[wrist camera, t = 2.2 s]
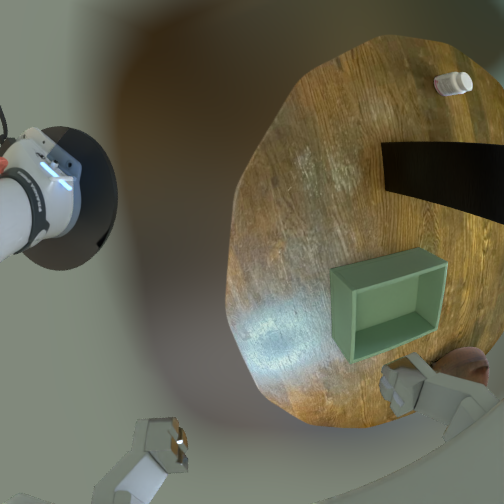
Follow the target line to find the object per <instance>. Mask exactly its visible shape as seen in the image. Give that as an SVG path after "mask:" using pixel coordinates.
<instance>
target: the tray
mask: <svg viewBox="0 0 504 504" xmlns="http://www.w3.org/2000/svg"><path fill="white" fill-rule="evenodd" d="M447 266H448V262H447V261H445V260H443V259H441V258H439V257H437V256H436V255H434V254H432V253H430V252H428V251H426V250H424V249H422V248H420V247H418V248H414V249H410V250H406V251H402V252H398V253H394V254H391V255H387V256H383V257H378V258H374V259H370V260H366V261H362V262H358V263H354V264H350V265H345V266H341V267H337V268H332V269H330V287H331V316H332V338H333V339H334V341H335V342H336V344H337V345H338V347H339V348H340V350H341V351H342V353H343V355H344V356H345V358H346V359H347V361H348V362H349V364H352V363H355V362H358V361H361V360H364V359H367V358H370V357H373V356H375V355H378V354H381V353H383V352H386V351H389V350H391V349H394V348H396V347H399V346H401V345H404V344H406V343H408V342H411V341H413V340H416V339H418V338H420V337H422V336H425V335H427V334H429V333H431V332H433V331H436V330H437V328H438V324H439V319H440V313H441V308H442V302H443V296H444V289H445V282H446V275H447Z"/></svg>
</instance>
